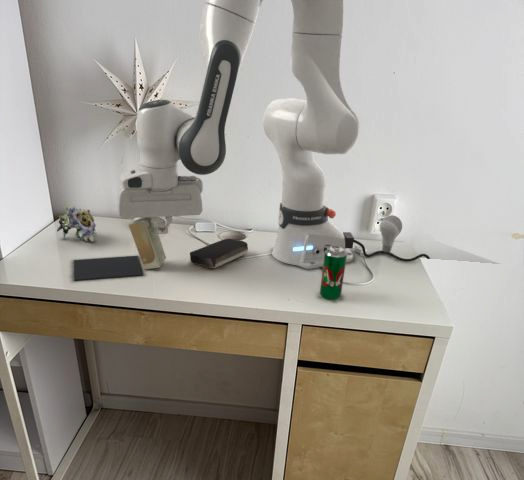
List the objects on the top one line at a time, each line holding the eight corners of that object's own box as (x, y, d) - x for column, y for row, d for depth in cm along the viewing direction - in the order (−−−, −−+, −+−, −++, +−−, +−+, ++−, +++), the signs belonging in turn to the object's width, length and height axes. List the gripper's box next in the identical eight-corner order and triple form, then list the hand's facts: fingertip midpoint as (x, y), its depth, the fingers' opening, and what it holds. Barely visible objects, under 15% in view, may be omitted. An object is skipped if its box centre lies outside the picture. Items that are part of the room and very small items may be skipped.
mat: (137, 256, 138) (137, 255, 137) (142, 275, 128) (142, 274, 128) (74, 261, 133) (73, 260, 133) (74, 280, 124) (74, 279, 123)
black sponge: (211, 273, 131) (211, 260, 129) (186, 264, 135) (186, 250, 133) (250, 255, 142) (251, 242, 140) (227, 247, 146) (227, 234, 144)
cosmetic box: (151, 260, 136) (136, 215, 130) (167, 258, 135) (152, 212, 129) (143, 270, 131) (127, 224, 124) (159, 268, 130) (143, 221, 123)
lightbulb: (387, 259, 145) (395, 221, 139) (370, 252, 149) (377, 214, 143) (400, 254, 148) (408, 217, 142) (383, 247, 152) (390, 211, 146)
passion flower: (92, 259, 148) (88, 236, 137) (53, 251, 146) (46, 227, 135) (101, 227, 152) (98, 201, 141) (63, 218, 150) (57, 192, 139)
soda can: (338, 291, 126) (345, 245, 119) (342, 301, 122) (349, 253, 115) (318, 291, 126) (324, 244, 119) (320, 300, 121) (326, 252, 115)
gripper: (199, 172, 127) (200, 226, 134) (113, 173, 121) (119, 230, 129) (205, 179, 122) (205, 235, 129) (115, 181, 116) (121, 239, 124)
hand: (161, 233), depth 129 cm, fingers closed
